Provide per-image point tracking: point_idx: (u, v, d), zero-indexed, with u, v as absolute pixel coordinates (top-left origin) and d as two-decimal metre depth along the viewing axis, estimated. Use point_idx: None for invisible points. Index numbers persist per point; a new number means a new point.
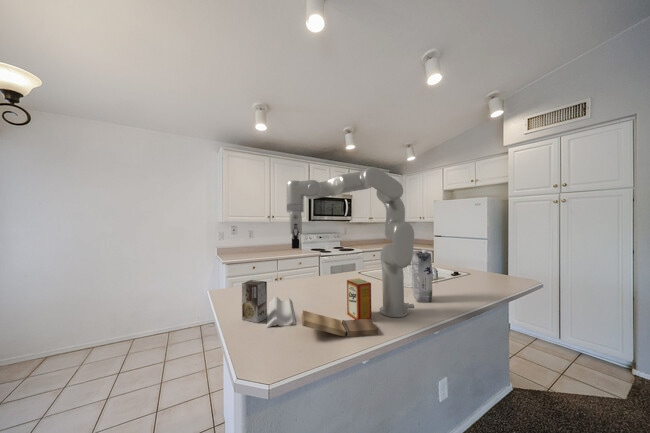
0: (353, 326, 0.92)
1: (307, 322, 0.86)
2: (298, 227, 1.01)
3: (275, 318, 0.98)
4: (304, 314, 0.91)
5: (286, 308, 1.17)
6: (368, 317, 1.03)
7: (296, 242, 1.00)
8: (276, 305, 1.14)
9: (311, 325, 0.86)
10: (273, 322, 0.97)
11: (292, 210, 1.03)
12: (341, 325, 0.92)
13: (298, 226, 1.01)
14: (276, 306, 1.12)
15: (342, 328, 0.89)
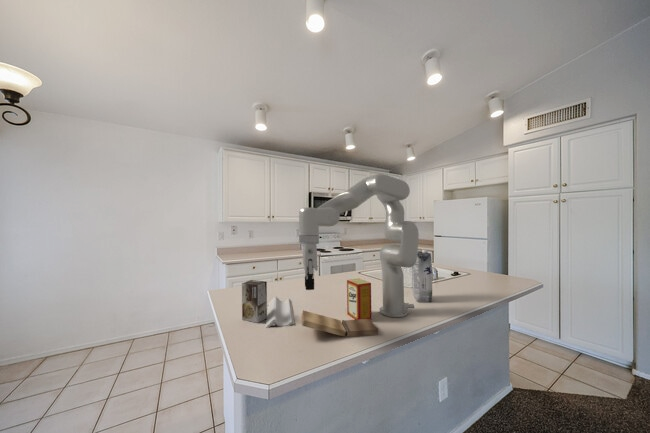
0: (353, 326, 0.92)
1: (307, 322, 0.86)
2: (313, 263, 0.87)
3: (274, 318, 0.98)
4: (304, 314, 0.91)
5: (285, 308, 1.17)
6: (368, 317, 1.03)
7: (311, 283, 0.88)
8: (275, 305, 1.14)
9: (311, 325, 0.86)
10: (272, 322, 0.97)
11: (306, 243, 0.88)
12: (341, 325, 0.92)
13: (313, 262, 0.87)
14: (275, 306, 1.12)
15: (342, 328, 0.89)
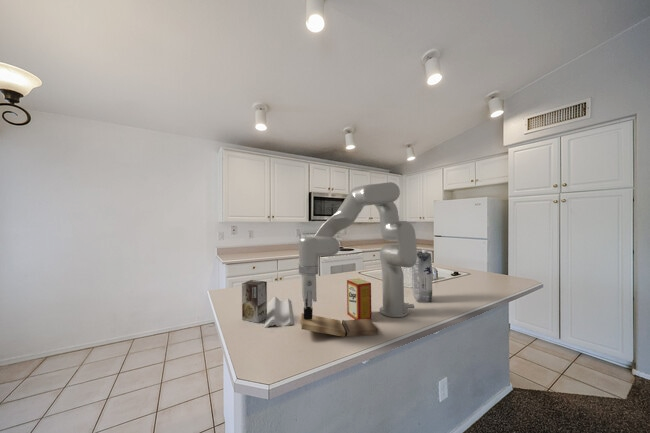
0: (353, 326, 0.92)
1: (306, 325, 0.86)
2: (312, 295, 0.86)
3: (273, 318, 0.98)
4: (303, 317, 0.91)
5: (285, 308, 1.17)
6: (368, 317, 1.03)
7: (309, 312, 0.89)
8: (274, 305, 1.14)
9: (310, 328, 0.86)
10: (271, 322, 0.97)
11: (305, 274, 0.88)
12: (341, 325, 0.92)
13: (312, 293, 0.86)
14: (274, 306, 1.12)
15: (342, 328, 0.89)
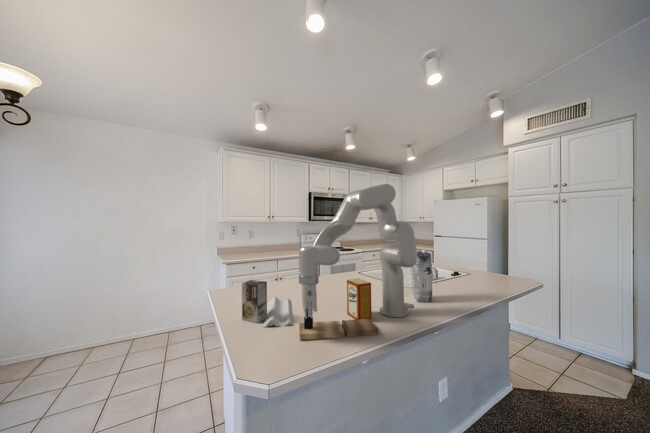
0: (353, 326, 0.92)
1: (304, 335, 0.85)
2: (313, 305, 0.86)
3: (272, 318, 0.98)
4: (300, 327, 0.91)
5: (284, 308, 1.17)
6: (368, 317, 1.03)
7: (309, 322, 0.89)
8: (274, 305, 1.14)
9: (309, 337, 0.86)
10: (270, 322, 0.97)
11: (306, 283, 0.87)
12: (339, 326, 0.92)
13: (313, 304, 0.86)
14: (274, 306, 1.12)
15: (340, 329, 0.89)
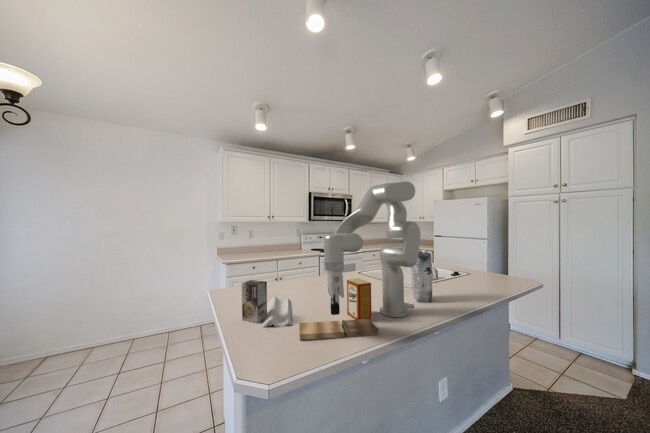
0: (353, 326, 0.92)
1: (304, 335, 0.85)
2: (340, 290, 0.88)
3: (271, 318, 0.98)
4: (300, 327, 0.91)
5: (284, 308, 1.17)
6: (368, 317, 1.03)
7: (336, 308, 0.91)
8: (274, 305, 1.14)
9: (309, 337, 0.86)
10: (269, 322, 0.97)
11: (332, 270, 0.89)
12: (339, 326, 0.92)
13: (340, 289, 0.88)
14: (273, 306, 1.12)
15: (340, 329, 0.89)
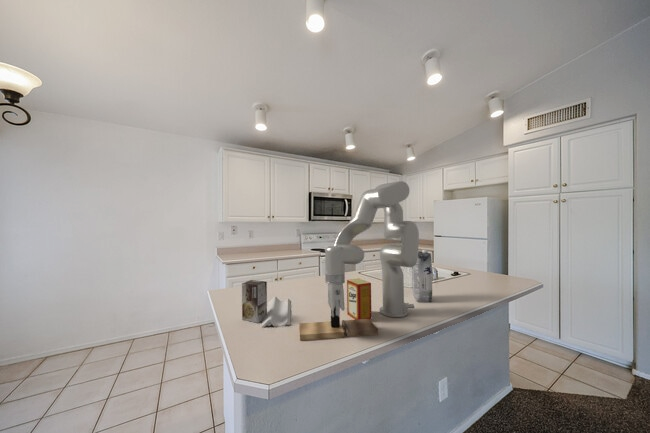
0: (353, 326, 0.92)
1: (304, 335, 0.85)
2: (341, 303, 0.87)
3: (270, 318, 0.98)
4: (300, 327, 0.91)
5: (284, 308, 1.16)
6: (368, 317, 1.03)
7: (336, 321, 0.91)
8: (273, 305, 1.14)
9: (308, 337, 0.86)
10: (267, 322, 0.97)
11: (333, 283, 0.89)
12: None
13: (340, 302, 0.87)
14: (273, 306, 1.12)
15: (340, 329, 0.89)
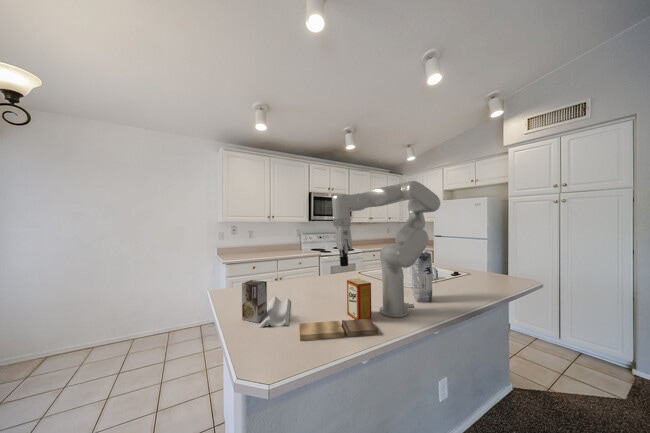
0: (353, 326, 0.92)
1: (304, 336, 0.85)
2: (349, 243, 0.98)
3: (268, 318, 0.98)
4: (300, 328, 0.91)
5: (283, 308, 1.16)
6: (368, 317, 1.03)
7: (345, 260, 1.01)
8: (272, 305, 1.14)
9: (308, 337, 0.86)
10: (265, 322, 0.97)
11: (341, 225, 0.99)
12: (339, 326, 0.92)
13: (349, 242, 0.98)
14: (272, 306, 1.12)
15: (340, 329, 0.89)
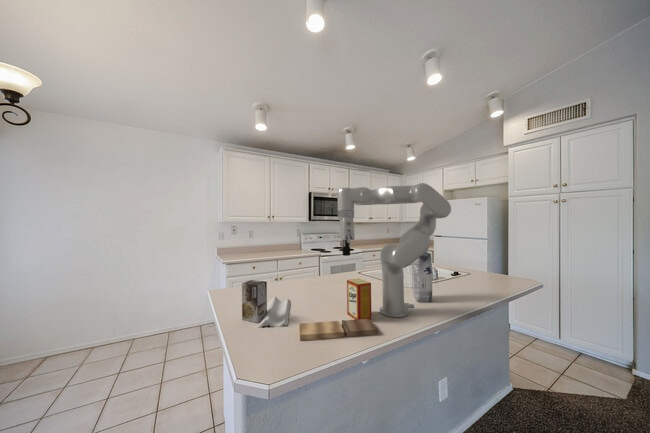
0: (353, 326, 0.92)
1: (304, 336, 0.85)
2: (351, 233, 1.04)
3: (267, 318, 0.98)
4: (300, 328, 0.91)
5: (282, 308, 1.16)
6: (368, 317, 1.03)
7: (347, 249, 1.07)
8: (272, 305, 1.14)
9: (308, 337, 0.86)
10: (264, 322, 0.97)
11: (345, 216, 1.06)
12: (339, 326, 0.92)
13: (351, 232, 1.04)
14: (272, 306, 1.12)
15: (340, 329, 0.89)
